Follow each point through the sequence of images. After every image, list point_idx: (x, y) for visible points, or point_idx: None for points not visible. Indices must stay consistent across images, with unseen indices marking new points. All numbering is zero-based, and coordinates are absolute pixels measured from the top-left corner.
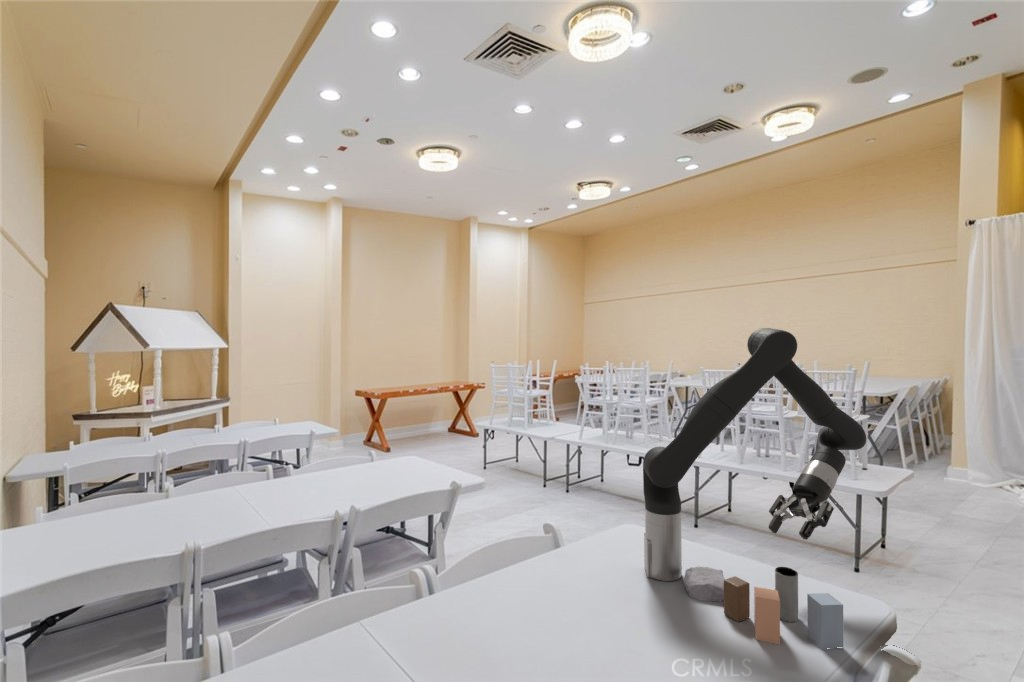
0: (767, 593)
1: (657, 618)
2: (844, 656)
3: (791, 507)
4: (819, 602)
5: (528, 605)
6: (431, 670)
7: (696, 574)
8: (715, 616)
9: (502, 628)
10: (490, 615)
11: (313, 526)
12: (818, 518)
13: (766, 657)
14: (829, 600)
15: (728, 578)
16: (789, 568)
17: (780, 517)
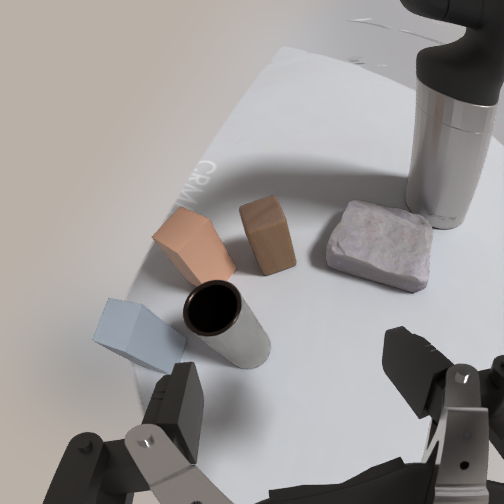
0: (178, 229)
1: (295, 162)
2: None
3: (416, 479)
4: (114, 301)
5: (336, 91)
6: (262, 73)
7: (397, 222)
8: None
9: (301, 84)
10: (321, 79)
11: (442, 44)
12: (79, 440)
13: None
14: (109, 326)
15: (277, 203)
16: (222, 328)
17: (438, 406)
